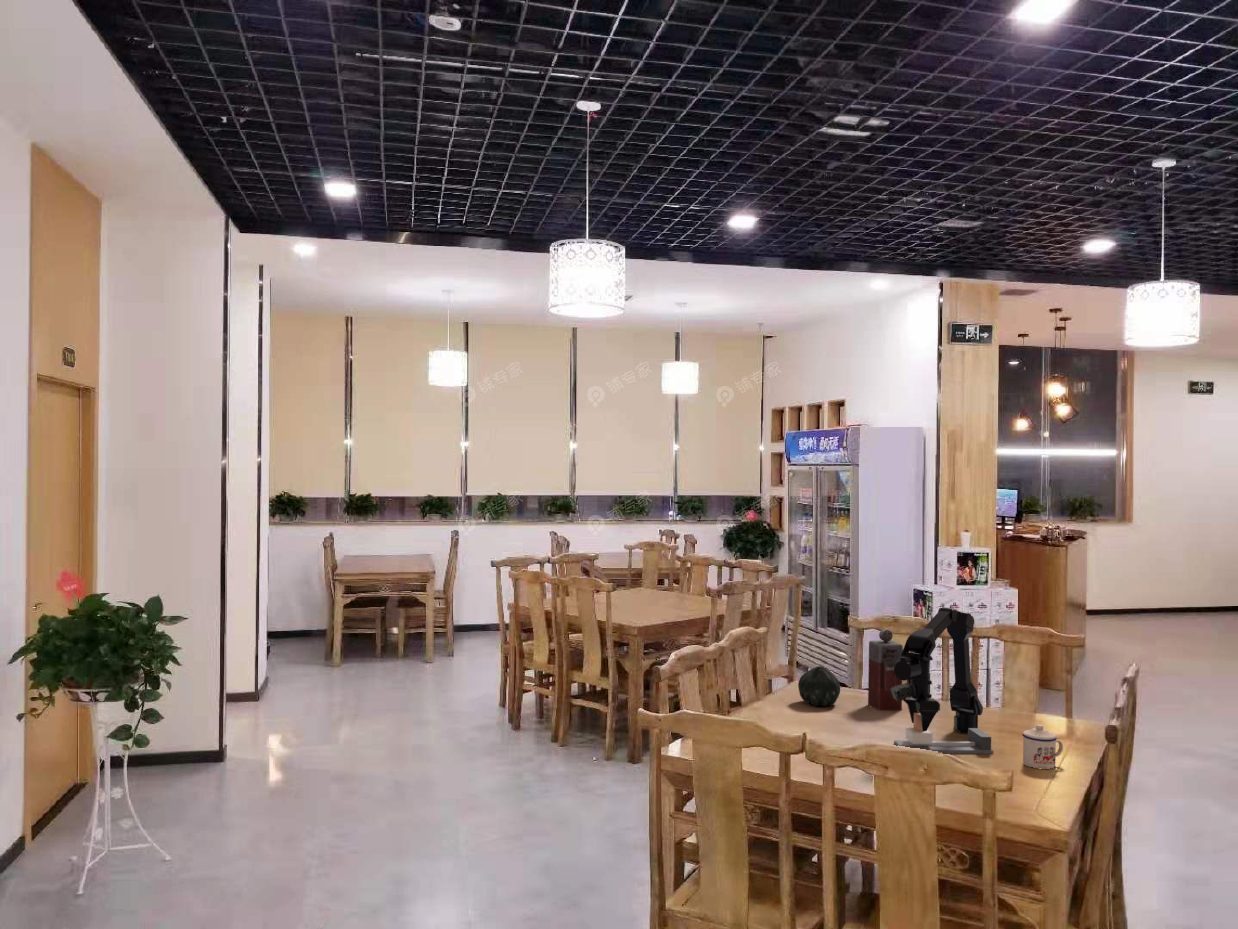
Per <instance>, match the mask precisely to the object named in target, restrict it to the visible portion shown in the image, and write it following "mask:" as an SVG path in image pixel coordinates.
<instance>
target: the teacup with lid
mask: <svg viewBox="0 0 1238 929" xmlns="http://www.w3.org/2000/svg"><path fill="white" fill-rule="evenodd" d="M1022 736H1023V737H1022V740H1023V741H1022V744H1023V745H1022V763H1023V764H1024V765H1025V766H1026V767H1029V768H1031V767H1033V768H1032V769H1035V768H1041V769H1040V770H1042V769H1049V770H1051V769H1050V768H1053V769H1055V768H1056V757H1059V756H1060V755H1061V754H1062V752H1063V751H1064V750H1063V749H1064V744H1063V742H1062V741H1061V740H1059V739H1058V738H1057V736H1056V734H1054V733H1052V732H1050V731H1049V730H1048V729H1046V728H1044V725H1042V724H1036V725H1035V727H1032V728H1030V729H1026V730H1024V731H1023V732H1022ZM1056 743H1058V750H1057V749H1056V748H1057V746H1056ZM1056 750H1057V751H1056ZM1054 767H1055V768H1054Z"/></svg>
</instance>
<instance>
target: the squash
mask: <svg viewBox="0 0 1238 929" xmlns="http://www.w3.org/2000/svg"><path fill="white" fill-rule="evenodd" d="M797 687H798V692H799V696H800V698H801V699H802V700H803V701H804V702H807V703H808V704H812V705H813V706H815V707H819V706H820V707H822V706H824V707H826V706H828V705H830V706H833V705H835V703H836V702H837V700H838V698H839V696H840V692H841V685H840V681H839V680H838V678H837V677H836V675H835V674H834V673H833V672H831V670H829V669H827V668H825V667H824V666H821V665H818V666H814V667H813V668H811V669H809V670H808V671H805V672H804V673H803V674H802V675H801V676H800V678H799V680H798V684H797Z"/></svg>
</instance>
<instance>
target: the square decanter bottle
mask: <svg viewBox="0 0 1238 929" xmlns="http://www.w3.org/2000/svg"><path fill="white" fill-rule="evenodd" d="M878 633H879V635H878V637H879V639H880V640H870V641H868V683H867V684H868V686H867V688H868V689H867V696H868V697H867V704H868V706H869V705H870V706H869V707H871V706H872V708H873V709H875V710H876V711H880V712H881V711H885V712H886V711H902V710H903V703H902V702H903V700H901V701H896V699H894V698H893V695H892V692H891V688H892V687H895V686H898V685H901V684H903V680H900V679H898V678H897V677H896V675H895V673H894V667H895V665H896V663H898V662H900V658H901V654H902V651H903V649H904V647H903V644H902V643H899V642H896V641H894V640H892V639H893V633H892V631H891V630H889V629H887V628H884V629H881V630H880V631H879V632H878Z"/></svg>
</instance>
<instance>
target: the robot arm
mask: <svg viewBox="0 0 1238 929" xmlns="http://www.w3.org/2000/svg"><path fill="white" fill-rule="evenodd" d="M974 626H975V618H974V616H973V615H972V614H971V613H969V612H963V611H959V610H957V609H955V608H953V607H952V608H951V607H943V606H942V607H939V609H938V611H937V613H936V614H935V615H934V616H933V618H931V620H930V621H929V622H927V624H926V625H925V626H924V627H923V628H922V629H917V630H915V631H913V632H912V633H910V634H909V635H908V637H907V638H906V641H905V644H904V647H903V651H902V654H901V658H900V662H898V663H896V665H895V667H894V673H895V675H896V677H897V678H898V679H900V680H902V682H903V681H906V682H905V683H902V684H901V685H898V686H895V687H892V688H891V692H892V695H893V698H894V699H896V701H901V700H902V702H904V703H905V704H906V705H907V708H908V713H909V716H910V717H909V718H910V720H911V723H912V724H914V713H920V716H921V724H922V730H923V731H927V730H929V728H930V725H931V723H932V721H933V720H934V718H935V716H936V715H937V713H939V711H941V704H940V702H939V701H938V700H937V699H935V698H934V697H933V698H932V696H933V695H932V693H930V685H932V684H933V683H932V680H931V679H930V668H931V666H930V664H931V662H930V661H933V659H934V658H933V657H932V656H931V655H932V653H933V651H934V650H935V648H936V646H937V644H936V641H937V639H938V638H939V637H940V636H941V635H942V634H943V632H945V630H946V631H947V633H948V634H949V637H950V638H951V639H952V649H953V650H952V651H953V668H954V669H953V670H954V684H953V685H952V687H951V688H950V689H949V690H948V691H949V703H950V710H951V711H952V712H955V715H953V729H954V730H956V731H957V732H958V733H960V734H968V728H978V729H979V727H978V726H979V716H982V714H983V711H984V710H983V709H984V707H983V704H982V702H981V701H980V699H979V697H978V691H977V688H975V686H974V684H973V683H972V678H971V677H972V676H971V656H970V655H971V654H970V637H971V635H972V633H974Z"/></svg>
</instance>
